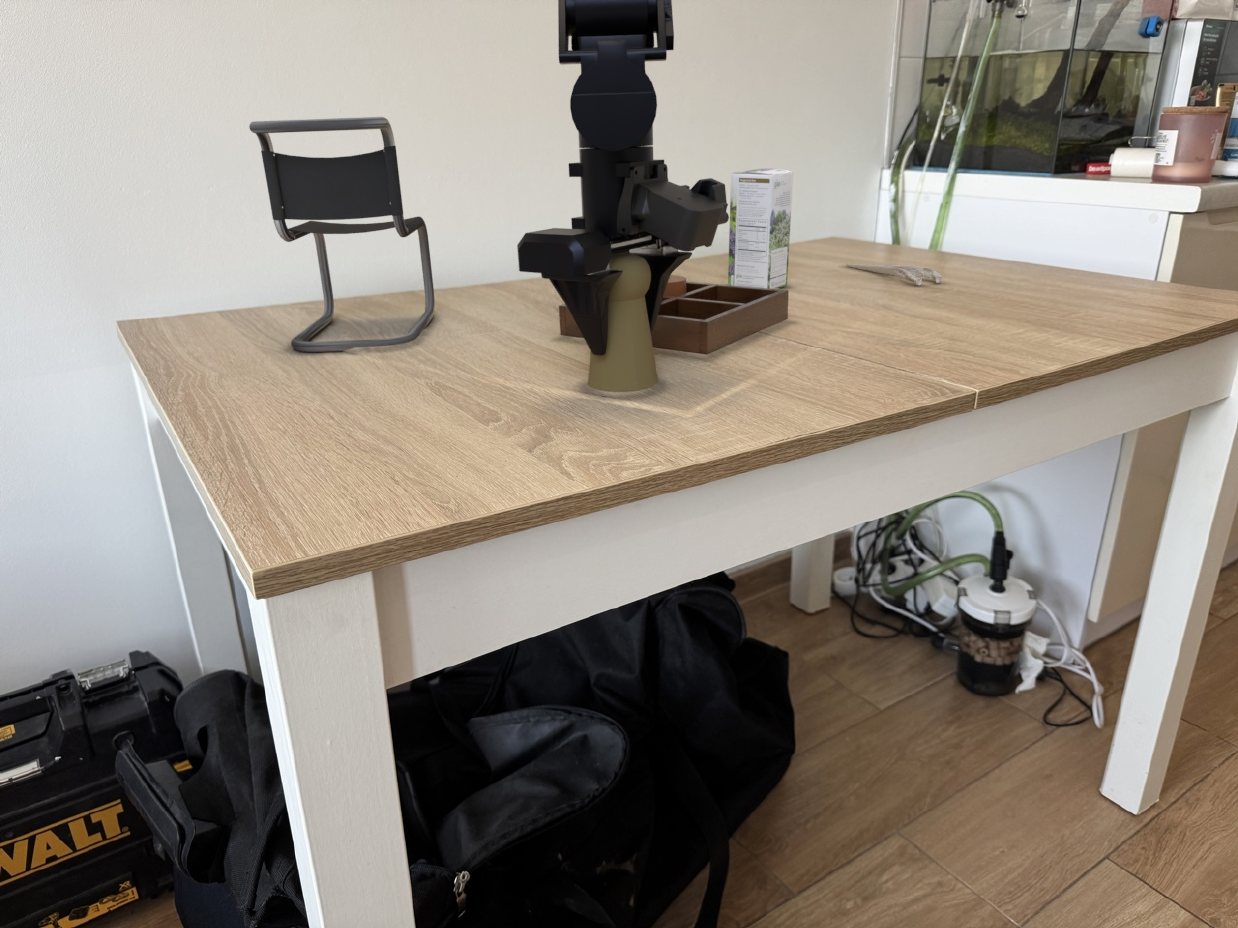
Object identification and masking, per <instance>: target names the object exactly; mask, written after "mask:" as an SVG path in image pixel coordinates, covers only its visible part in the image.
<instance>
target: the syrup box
mask: <svg viewBox="0 0 1238 928" xmlns="http://www.w3.org/2000/svg"><path fill="white" fill-rule="evenodd" d="M793 176H794V172H793V171H792V170H787V169H783V168H771V167H770V168H755V169H749V170H742V171H735V172H731V173H730V197H729V198H730V202H729V231H728V233H729V234H728V236H729V238H728V240H729V241H728V272H727V275H728V276H727V285H733V286H745V287H757V288H769V289H782V288H785V287H787V286H788V281H789V280H788V278H789V277H788V276H789V261H790V259H789V258H790V257H789V256H790V241H791V239H790V238H791V219H792V216H791V215H792V199H793V179H794V177H793Z"/></svg>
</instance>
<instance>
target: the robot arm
mask: <svg viewBox="0 0 1238 928" xmlns="http://www.w3.org/2000/svg"><path fill="white" fill-rule="evenodd" d="M557 6H558V7H557V8H558V10H557V11H558V12H557V16H558V17H557V18H558V21H557V22H558V23H557V24H558V26H557V27H558V29H557V30H558V63H559V65H580V75H579V76H578V77H577V79H576V81H575V82H574V85H573V87H572V92H571V95H570V98H569V99H570V100H569V101H570V102H569V109H570V115H571V120H572V121H573V124H574V126H575V129H576V131H577V132H578V148H579V150H578V153H579V162H569V163H568V177H569V178H580V195H581V196H580V197H581V216H576V217H571V218H570V219H571V228H564V227H552V228H546V229H540V230H535V231H530V232H525V233H524V235H523V236H522V238H521V239H520V240H519V242H518V243H517V246H516V247H517V248H516V249H517V261H518V272H521V273H534V274H540V276H541V278H542V279H545V280H549V282H550V283H551V284H552V286H553V288H554V289H555V291H556V292H557V293H558V296H559V297H560V298H561V300H562V301H563V304H565V305H566V306H567V308H568V310H569V311H570V313H571V315H572V317H573V319H574V320H575V322H576V324H577V326H578V328H579V330H580V332H581V333H582V335H583V337H584V338H583V339H584V341H585V343H586V344H587V347H588V348H589V351H590V353H591V352H592V354H594V355H599V356H602V355H605V353H606V347H607V337H608V311H609V291H610V289H611V288H612V286H613V285H614V284H615V282H616V281H617V280H618V278H619V277H620V276H621V275H622V273H623V271H619V270H610V268H609V262H610V260H611V254H617V253H623V254H632V255H637V256H640V257H642V258H644V259H645V260H646V261H647V263H648V264H649V267H650V271H651V281H650V286H649V289H648V291H647V292H646V294H645V301H646V308H647V314H648V320H649V326H650V333H651V337H652V333H653V330H654V327H655V323H656V320H657V316H658V313H659V309H660V306H661V302H662V299H663V295H664V292H665V289H666V286H667V283H668V280H669V278H670V275H673V272H674V271H675V270H676V269H677V268H679V267H680V266H681V265H682V264H683V263H684V262H685V261H686V260H689V259H691V257H692V256H693V252H692V251H695V249H697V248H699V247H700V248H701V247H706V248H709V247H711V246H712V245H713V242H714V239H715V237H716V236H715V235H716V233H717V230H718V227H719V226H720V225H724V224H727V223H728V221H729V220H730V214H729V213H728V212H727V209H728V205H729V203H728V202H727V201H728V200H727V191H726V184H725V183H723V182H721V181H719V180H717V179H714V178H711V177H709V178H701V179H699V180H697V182H695V184H693V186H692V187H690V186H689V185H687V184H684V185H679V184H677V183H674V182H672V181H669V176H668V175H669V173H668V171H669V170H668V165H667V164H666V163H665V159H654V122H655V119H656V116H657V109H658V99H657V94H656V90H655V88H654V84H653V82H652V81H651V79H650V77H649V75H648V74H647V72H646V62H666V61H667V57H668V56H667V55H668V54H667V51H674V49H675V46H674V45H675V32H674V18H673V16H674V15H673V1H672V0H557ZM655 34H656V36H654V35H655ZM655 37H656V46H655ZM569 42H570V43H571V46H570V47H571V50H569V45H570V43H569Z"/></svg>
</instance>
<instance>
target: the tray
mask: <svg viewBox="0 0 1238 928" xmlns="http://www.w3.org/2000/svg"><path fill="white" fill-rule="evenodd" d="M789 292H790V291H789V290H788V289H782V288H773V289H769V288H757V287H745V286H733V285H728V284H720V283H708V282H698V281H697V282H696V281H686V293H685V294H682V295H679V296H676V297H671V296H663V299H662V302H661V306H660V309H659V313H658V316H657V320H656V323H655V327H654V330H653V333H652V337H651V339H652V345H653V349H655V348H656V349H661V350H671V351H678V352H683V353H684V352H686V353H693V354H701V355H709V354H711V353H714V352H716V351H718V350H720V349H723V348H726V347H727V346H729V345H731V344H734V343H737V342H739V341H741V340H744V339H745V338H747V337H750V336H753V335H754V334H756V333H758V332H761V331H763V330H765V329H768V328H770V327H772V326H775V325H776V324H779V323H781V322H783V321H785V320H788V317H789V315H788V314H789ZM558 315H559V333H560V334H559V335H560V336H564V337H571V338H572V337H573V338H579V339H580V338H581V339H584V337H583V335H582V333H581V332H580V330H579V328H578V326H577V324H576V322H575V320H574V319H573V317H572V315H571V313H570V311H569V310H568V308H567V306H566V305H565V303H563V304H560V305H558Z"/></svg>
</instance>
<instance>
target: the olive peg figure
mask: <svg viewBox="0 0 1238 928" xmlns="http://www.w3.org/2000/svg"><path fill="white" fill-rule="evenodd" d="M609 268H610V270H619V271H623V273H622V275H621V276H620V277H619V278H618V280H617V281H616V282H615V284H614V285H613V286H612V288H611V289H610V291H609V311H608V337H607V347H606V353H605V355H602V356H599V355H594V354H592V352H591V351H590V352H589V353H590V354H589V368H588V379H587V384H588V386H589V387H590V388H592V389H593V390H596V391H602V392H607V393H608V392H609V393H629V392H638V391H643V390H647V389H651V388H653V387H655V386H656V385H658V383H659V377H658V371H657V365H656V359H655V358H656V357H655V352H654V347H653V345H652V339H651V333H650V326H649V320H648V314H647V308H646V301H645V294H646V292H647V291H648V289H649V286H650V281H651V271H650V267H649V264H648V263H647V261H646V260H645V259H644V258H642V257H640V256H637V255H632V254H623V253H617V254H611V260H610V262H609ZM602 397H603V398H606V396H605V395H604V396H603V395H602Z"/></svg>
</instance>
